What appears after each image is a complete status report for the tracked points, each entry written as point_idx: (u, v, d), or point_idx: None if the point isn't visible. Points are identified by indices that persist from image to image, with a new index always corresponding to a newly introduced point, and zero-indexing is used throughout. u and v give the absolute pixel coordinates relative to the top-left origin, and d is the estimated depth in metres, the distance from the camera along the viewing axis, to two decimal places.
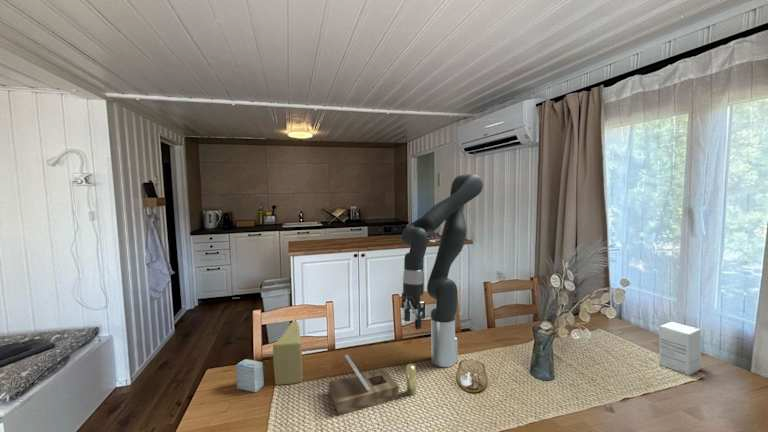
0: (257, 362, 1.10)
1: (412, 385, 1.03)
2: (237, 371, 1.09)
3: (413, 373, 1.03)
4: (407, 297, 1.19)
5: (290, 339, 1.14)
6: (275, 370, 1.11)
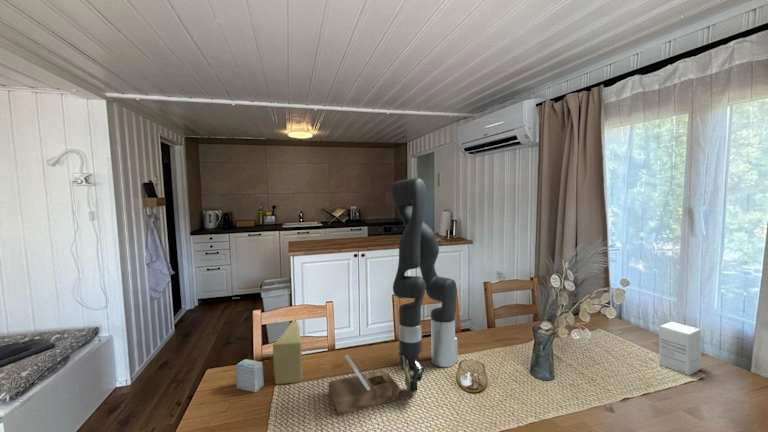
0: (257, 362, 1.10)
1: None
2: (237, 371, 1.09)
3: None
4: (404, 355, 1.06)
5: (289, 339, 1.14)
6: (275, 369, 1.11)
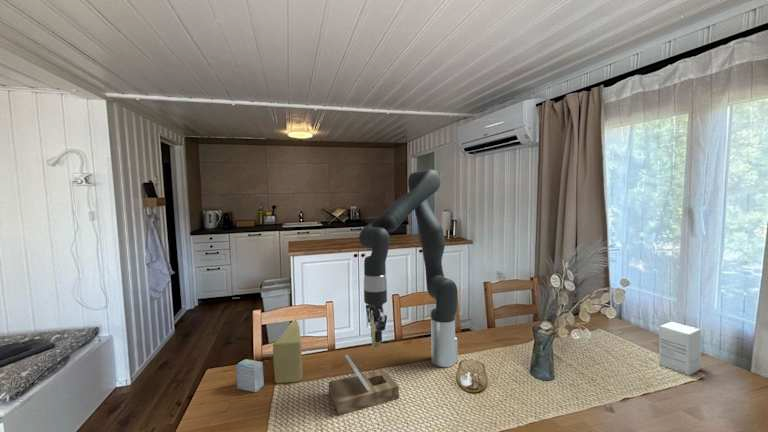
0: (257, 362, 1.10)
1: None
2: (237, 371, 1.09)
3: None
4: None
5: (289, 338, 1.15)
6: (275, 369, 1.12)
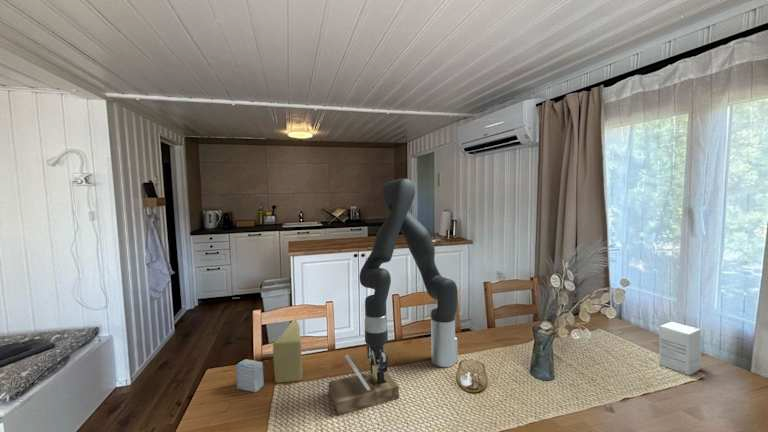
0: (257, 362, 1.10)
1: None
2: (237, 371, 1.09)
3: None
4: (370, 345, 1.07)
5: (289, 338, 1.15)
6: (275, 368, 1.12)
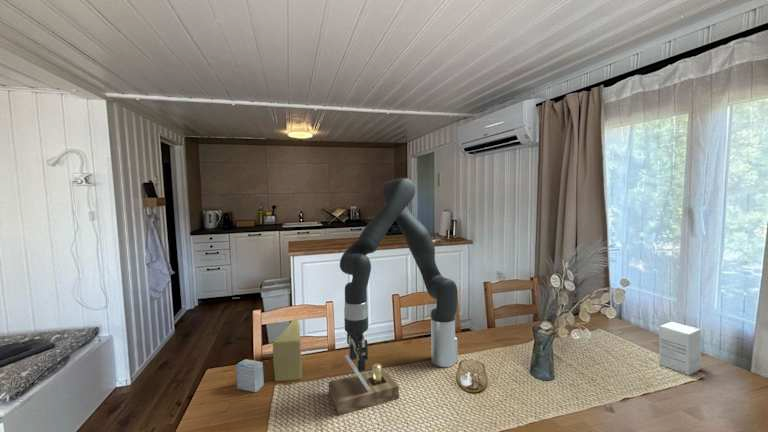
0: (257, 362, 1.10)
1: None
2: (237, 371, 1.09)
3: (379, 372, 1.04)
4: (351, 333, 1.04)
5: (289, 337, 1.16)
6: (275, 367, 1.13)
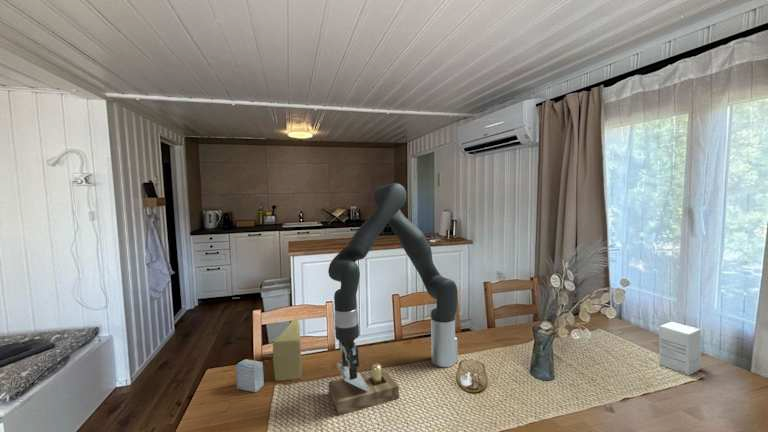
0: (257, 362, 1.10)
1: None
2: (237, 371, 1.09)
3: (378, 373, 1.04)
4: None
5: (289, 336, 1.16)
6: (275, 366, 1.13)
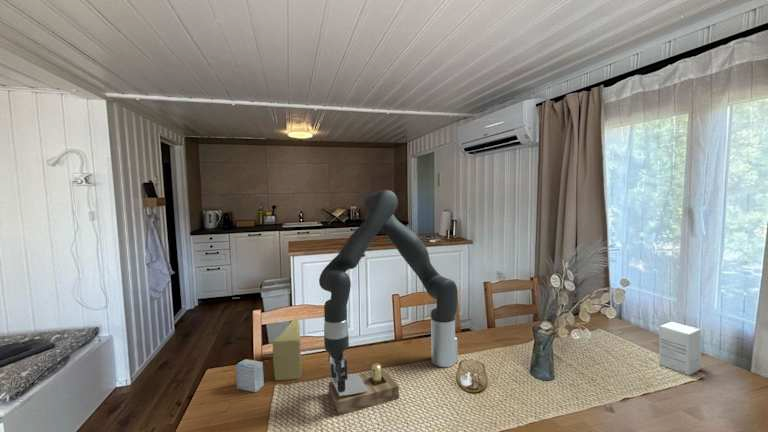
0: (257, 362, 1.10)
1: None
2: (237, 371, 1.09)
3: (378, 372, 1.04)
4: None
5: (289, 336, 1.17)
6: (275, 366, 1.13)
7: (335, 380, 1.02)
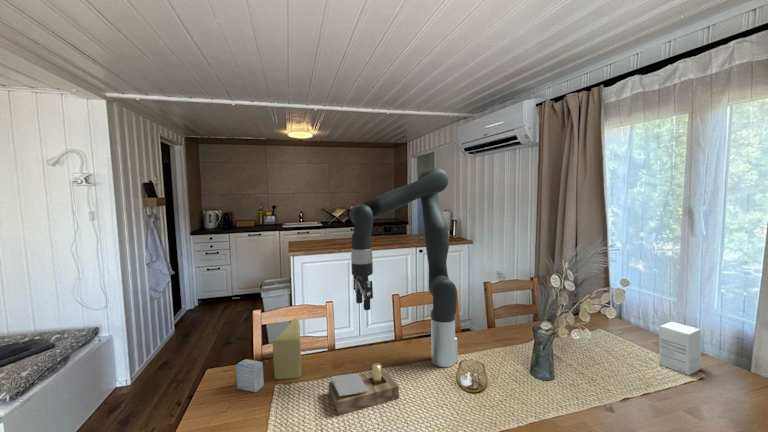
0: (257, 362, 1.10)
1: (377, 384, 1.04)
2: (237, 371, 1.09)
3: (378, 372, 1.04)
4: (357, 278, 1.15)
5: (289, 335, 1.17)
6: (275, 365, 1.14)
7: (335, 380, 1.02)
